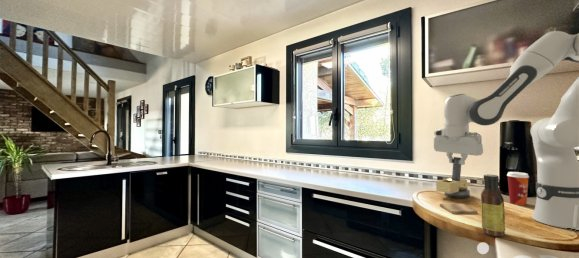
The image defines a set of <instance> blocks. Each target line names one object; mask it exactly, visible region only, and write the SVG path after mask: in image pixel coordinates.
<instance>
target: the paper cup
mask: <svg viewBox="0 0 579 258" xmlns="http://www.w3.org/2000/svg"><path fill="white" fill-rule="evenodd" d="M506 177H507V184H508V196H509V203H510V204H512V205H515V206H527V201H528V189H529V178H530V176H529V174H528V173H526V172H519V171H508V172H507V174H506Z"/></svg>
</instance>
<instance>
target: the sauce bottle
mask: <svg viewBox="0 0 579 258" xmlns="http://www.w3.org/2000/svg"><path fill="white" fill-rule="evenodd" d="M483 180H484V186H483V187H484V188H483V190H482V191H481V193H480V211H481V212H480V216H481V230H482V232H483V233H484V234H486V235H488V236H491V237H492V236H493V237H504V236H505V233H506V221H505V220H506V216H505V199H504V197H503V195H502V192H501V190H500V187H499V180H500V177H499V175H496V174H489V173H488V174H483Z"/></svg>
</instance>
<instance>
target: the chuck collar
mask: <svg viewBox="0 0 579 258" xmlns="http://www.w3.org/2000/svg"><path fill="white" fill-rule="evenodd" d="M435 183H436V184H435V185H436V187H435V188H436V190H435V191H437V192H440V193H441V192H442V193H444V192H445V193H449V194H452V193H456V192H459V191H467V189H468V179H466V178H462V177H460V181H454V180H452V177H446V179H445V178H444V179H439V180H435Z"/></svg>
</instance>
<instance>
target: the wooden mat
mask: <svg viewBox="0 0 579 258" xmlns="http://www.w3.org/2000/svg"><path fill="white" fill-rule="evenodd" d="M439 207H440V208H442V209H444V210H445V211H447V212H449V213H450V214H453V215H457V214H458V215H460V214H462V215H463V214H465V215H466V214H471V215H472V214H477V215H478V211H477V210H476V209H474V208H473V207H470V206H468V205H466V204H464V203H439Z"/></svg>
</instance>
